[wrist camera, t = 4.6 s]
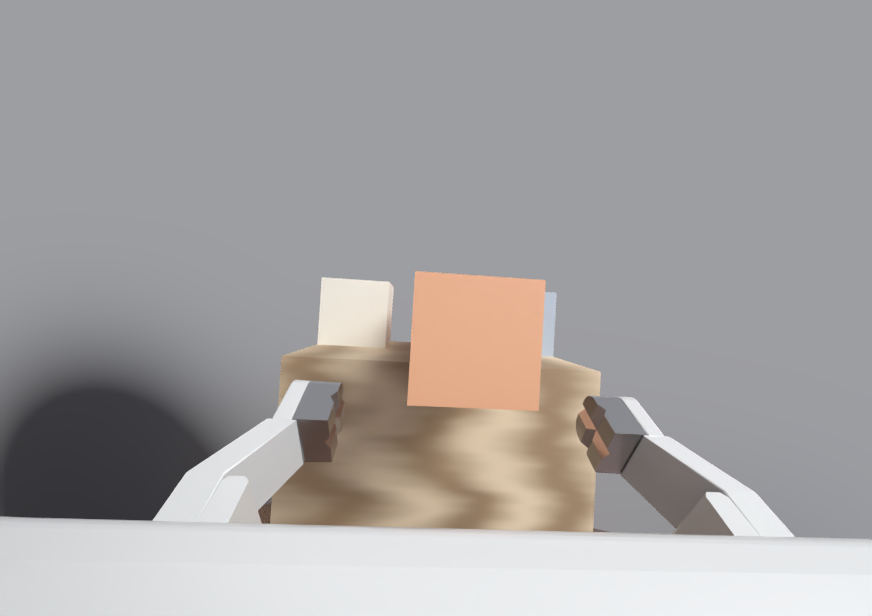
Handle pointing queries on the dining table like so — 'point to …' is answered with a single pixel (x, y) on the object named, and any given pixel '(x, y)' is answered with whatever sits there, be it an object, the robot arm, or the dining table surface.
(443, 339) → the bar terracotta
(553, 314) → the cube slate
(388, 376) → the oak stand
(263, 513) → the dining table surface
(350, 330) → the cube cream
